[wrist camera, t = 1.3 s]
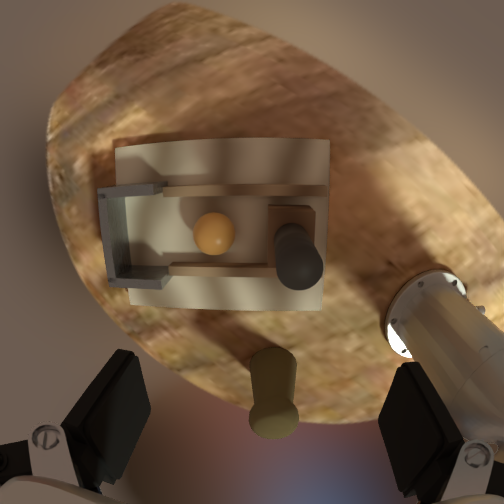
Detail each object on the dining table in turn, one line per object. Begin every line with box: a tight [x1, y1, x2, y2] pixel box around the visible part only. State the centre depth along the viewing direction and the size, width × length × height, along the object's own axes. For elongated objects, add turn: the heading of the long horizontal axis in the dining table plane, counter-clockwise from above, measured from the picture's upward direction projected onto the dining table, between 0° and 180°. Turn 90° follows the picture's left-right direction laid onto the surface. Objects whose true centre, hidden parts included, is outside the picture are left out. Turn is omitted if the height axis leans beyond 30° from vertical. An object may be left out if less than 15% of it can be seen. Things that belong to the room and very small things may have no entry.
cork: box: [249, 347, 299, 439], centre depth 31 cm, size 6×6×11 cm
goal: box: [97, 181, 173, 290], centre depth 28 cm, size 6×10×4 cm, turn 0°
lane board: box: [115, 138, 330, 311], centre depth 29 cm, size 22×18×3 cm
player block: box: [268, 205, 323, 290], centre depth 24 cm, size 4×5×11 cm
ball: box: [193, 212, 235, 255], centre depth 28 cm, size 4×4×4 cm
